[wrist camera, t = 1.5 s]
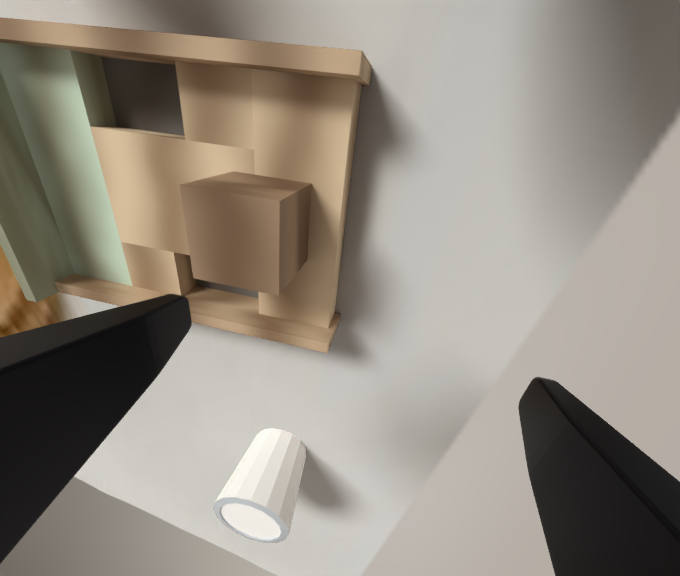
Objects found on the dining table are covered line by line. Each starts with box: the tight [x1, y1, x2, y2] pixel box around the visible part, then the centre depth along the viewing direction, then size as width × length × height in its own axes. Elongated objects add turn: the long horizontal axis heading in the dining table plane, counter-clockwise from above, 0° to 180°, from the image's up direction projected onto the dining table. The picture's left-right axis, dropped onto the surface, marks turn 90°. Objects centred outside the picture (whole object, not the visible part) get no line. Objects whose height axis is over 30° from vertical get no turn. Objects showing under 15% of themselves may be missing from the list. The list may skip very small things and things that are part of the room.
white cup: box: [213, 428, 307, 543], centre depth 28 cm, size 7×7×7 cm
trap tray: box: [0, 18, 372, 353], centre depth 18 cm, size 21×16×5 cm
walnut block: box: [179, 171, 312, 296], centre depth 15 cm, size 4×4×4 cm
